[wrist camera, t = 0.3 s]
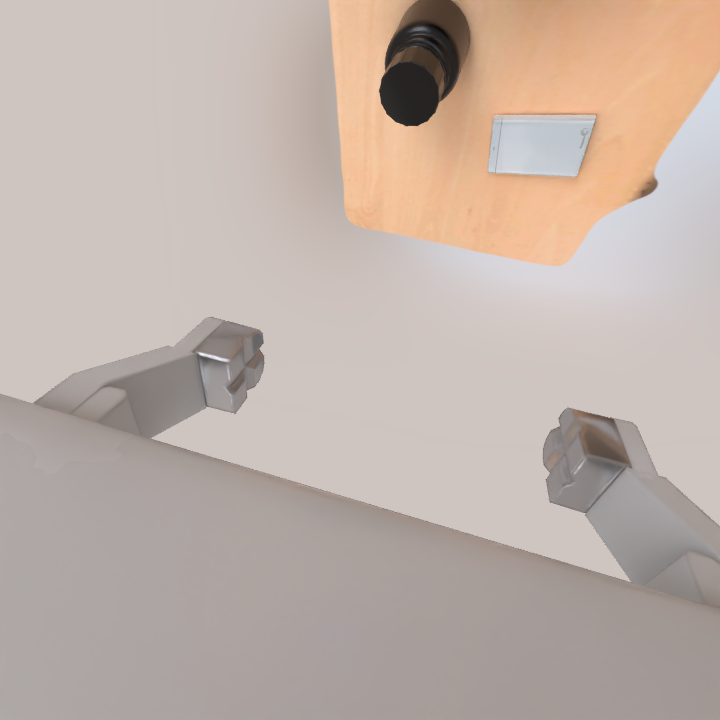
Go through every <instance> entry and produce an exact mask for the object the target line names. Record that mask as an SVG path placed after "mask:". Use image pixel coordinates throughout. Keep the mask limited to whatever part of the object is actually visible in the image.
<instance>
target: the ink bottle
mask: <svg viewBox="0 0 720 720" xmlns="http://www.w3.org/2000/svg"><path fill="white" fill-rule="evenodd" d="M469 42H470V34H469V27H468V24H467V21H466V18H465V16H464V14H463V13H462V11H461V10H460V8H459V7H458V6H457V5H456V4H455V3H454V2H452V1H451V0H419V1H417V2H416V3H414V4H413V5H412V6H411V7H410V8H409V9H408V11H407V12H406V13H405V15H404V17H403V18H402V20H401V22H400V24H399V26H398V28H397V30H396V32H395V33H394V35H393V37H392V39H391V41H390V43H389V46H388V49H387V52H386V57H385V73H384V75H383V77H382V80H381V86H380V89H379V93H380V98H381V104H382V105H383V107H384V109H385V111H386V113H387V115H389V116H390V117H391V118H392V119H393V120H394V121H395V122H397V123H400V124H403V125H405V126H418V125H420V124H422V123H424V122H427V121H428V120H429V118H430V117H431V116H432V115H433V114H434V113H435V112H436V109H437V107H438V104H439V102H440V101H442V100H443V99H444V98H445V97H447V95H448V94H449V93H450V92H451V91H452V89H453V88H454V86H455V84H456V82H457V80H458V77H459V74H460V72H461V69H462V66H463V63H464V61H465V58H466V55H467V52H468V48H469Z"/></svg>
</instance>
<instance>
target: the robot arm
mask: <svg viewBox="0 0 720 720" xmlns="http://www.w3.org/2000/svg"><path fill="white" fill-rule="evenodd" d="M262 344H263V333H262V332H261V331H260V330H258V329H255V328H251V327H247V326H244V325H240V324H237V323H233V322H229V321H225V320H221V319H217V318H214V317H208V318H205V319H204V320H203V321H202V322H201V323H200V324H199V325H197V326H196V327H195V328H194V329H193V330H192V331H191V332H190V333H188V334H187V335H186V336H185V337H184V338H183V339H182V340H181V341H179V342H178V343H177V344H176V345H175V346H174V347H171V346H166V347H162V348H159V349H155V350H152V351H149V352H145V353H142V354H139V355H135V356H132V357H128V358H125V359H121V360H118V361H115V362H111V363H108V364H104V365H101V366H98V367H94V368H91V369H88V370H84V371H80V372H77V373H74V374H72V375H70V376H69V377H68V378H66V379H65V380H64V381H62V382H61V383H60V384H58V385H57V386H55V387H54V388H53V389H51V390H50V391H49V392H47V393H46V394H45V395H43V396H42V397H41V398H39V399H38V400H37V401H35V402H34V403H29V402H26V401H22V400H19V399H16V398H12V397H9V396H5V395H2V394H0V720H720V526H719V525H718V524H716V523H715V522H714V521H713V520H712V519H711V518H710V517H709V516H707V515H706V514H705V513H704V512H703V511H702V510H701V509H700V508H699V507H698V506H696V505H695V504H694V503H693V502H692V501H691V500H690V499H689V498H688V497H686V496H685V495H684V494H683V493H682V492H681V491H680V490H679V489H678V488H676V487H675V486H674V485H673V484H672V483H671V482H670V481H669V480H667V478H665V477H661V476H658V474H657V471H656V469H655V467H654V465H653V462H652V460H651V458H650V455H649V453H648V451H647V448H646V446H645V444H644V442H643V440H642V437H641V435H640V433H639V430H638V428H637V426H636V425H635V424H634V423H633V422H629V421H624V420H620V419H615V418H611V417H610V418H608V417H604V416H600V415H596V414H592V413H588V412H584V411H580V410H576V409H572V408H566V409H565V410H564V411H563V412H562V414H561V415H560V417H559V423H560V427H557V428H555V429H553V430H551V431H550V433H549V435H548V436H547V438H546V441H545V444H544V448H543V463H544V466H545V467H546V468H547V470H548V471H549V472H550V475H549V476H548V477H547V479H546V482H547V488H548V495H549V501H550V502H551V503H554V504H557V505H560V506H564V507H567V508H570V509H573V510H577V511H580V512H583V513H586V514H585V516H586V517H587V518H588V520H589V521H590V523H591V524H592V526H593V527H594V529H595V530H596V532H597V533H598V534H599V536H600V537H601V539H602V540H603V542H604V543H605V545H606V546H607V547H608V549H609V550H610V552H611V553H612V555H613V556H614V557H615V559H616V560H617V562H618V563H619V565H620V566H621V568H622V569H623V571H624V572H625V573H626V575H627V576H628V578H629V579H630V581H631V582H628V581H625V580H622V579H618V578H615V577H611V576H608V575H605V574H601V573H598V572H595V571H591V570H588V569H584V568H581V567H578V566H574V565H571V564H568V563H565V562H561V561H558V560H555V559H551V558H548V557H545V556H541V555H538V554H535V553H531V552H528V551H525V550H521V549H518V548H514V547H511V546H507V545H504V544H501V543H497V542H494V541H491V540H488V539H484V538H481V537H477V536H474V535H471V534H468V533H464V532H460V531H458V530H454V529H451V528H448V527H444V526H441V525H438V524H434V523H431V522H428V521H424V520H421V519H418V518H414V517H411V516H407V515H404V514H401V513H397V512H394V511H391V510H387V509H384V508H380V507H377V506H374V505H371V504H367V503H364V502H361V501H357V500H354V499H351V498H347V497H344V496H341V495H337V494H333V493H331V492H327V491H324V490H321V489H317V488H314V487H310V486H307V485H304V484H300V483H297V482H293V481H290V480H287V479H284V478H280V477H277V476H274V475H270V474H267V473H264V472H260V471H257V470H254V469H250V468H247V467H244V466H240V465H237V464H233V463H230V462H227V461H223V460H220V459H217V458H213V457H210V456H206V455H203V454H200V453H197V452H193V451H190V450H187V449H183V448H180V447H177V446H173V445H170V444H167V443H163V442H160V441H156V440H153V439H150V438H152V437H153V436H155V435H157V434H159V433H161V432H163V431H164V430H166V429H168V428H170V427H172V426H174V425H176V424H177V423H179V422H181V421H183V420H185V419H187V418H188V417H190V416H192V415H194V414H196V413H198V412H200V411H201V410H203V409H205V408H206V406H207V407H211V408H215V409H219V410H223V411H227V412H231V413H236V412H237V411H238V409H239V408H240V407H241V405H242V404H243V403H244V401H245V400H246V398H247V390H249V389H251V388H254V387H255V386H256V384H257V383H258V382H259V380H260V378H261V374H262V372H263V368H264V355H263V354H262V352H261V351H260V349H259V348H260V347H261V345H262Z"/></svg>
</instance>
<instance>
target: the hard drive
mask: <svg viewBox="0 0 720 720" xmlns="http://www.w3.org/2000/svg"><path fill="white" fill-rule="evenodd" d="M595 120H596V115H494V118H493V126H492V135H491V144H490V153H489V163H488V173H502V174H522V175H542V176H562V177H577V174H578V171H579V169H580V166H581V163H582V160H583V157H584V154H585V151H586V148H587V145H588V142H589V139H590V136H591V133H592V130H593V127H594V123H595Z"/></svg>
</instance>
